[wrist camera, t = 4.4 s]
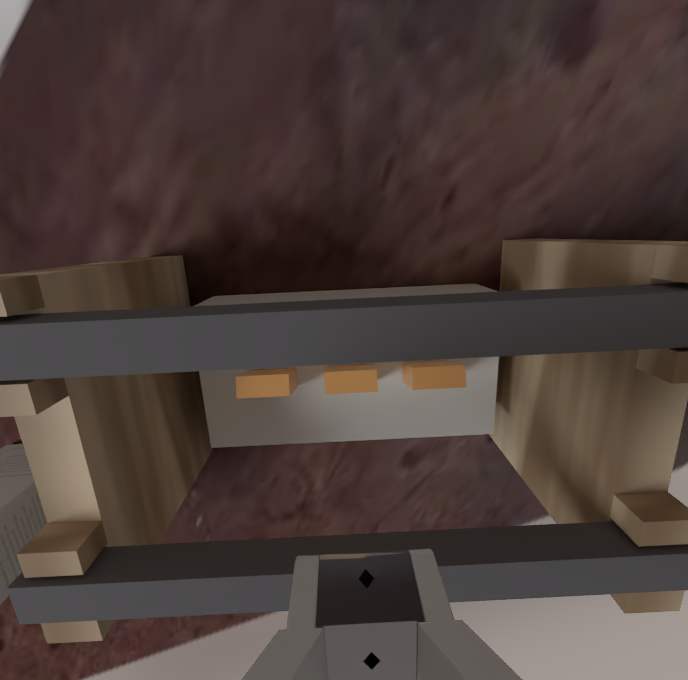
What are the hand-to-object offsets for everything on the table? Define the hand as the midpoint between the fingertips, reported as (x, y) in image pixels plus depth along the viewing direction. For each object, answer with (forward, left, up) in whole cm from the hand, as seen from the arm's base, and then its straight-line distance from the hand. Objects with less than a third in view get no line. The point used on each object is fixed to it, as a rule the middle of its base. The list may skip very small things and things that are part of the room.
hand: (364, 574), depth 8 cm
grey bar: (0, +4, -5) cm, 7 cm away
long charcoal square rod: (0, -5, -5) cm, 7 cm away
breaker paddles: (0, 0, -12) cm, 12 cm away
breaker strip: (0, 0, -16) cm, 16 cm away
